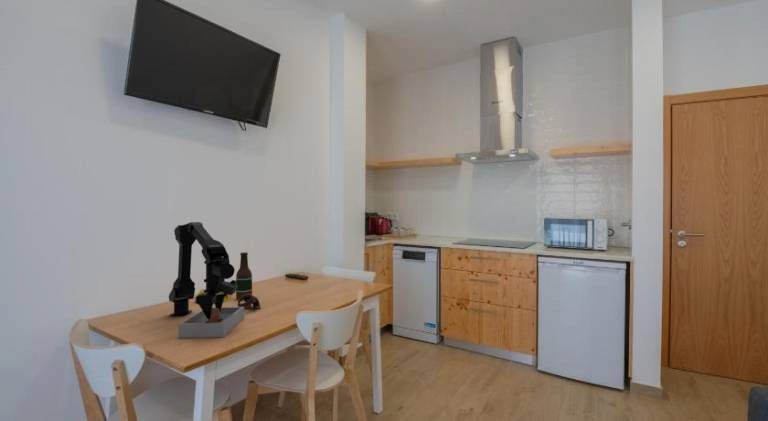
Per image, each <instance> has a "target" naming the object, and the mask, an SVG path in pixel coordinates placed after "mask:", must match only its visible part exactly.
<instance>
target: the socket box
mask: <svg viewBox="0 0 768 421" xmlns="http://www.w3.org/2000/svg"><path fill="white" fill-rule="evenodd" d="M214 308H216V307H215V306H212V309H214ZM244 319H245V309H244V307H238V306H222V308H221V311H220V312H219V323H208V319H207V317H206V316H205V314H204V312H203V310H202V309H201V310H199V311H197V312H196V313H193V314H192V315H191V316H189V317H188V318H185V320H183V321H181V322H179V323H178V329H177V330H178V332H177V333H178V334H177V335H178V337H177V338H178V339H192V338H193V339H195V338H196V339H197V338H199V339H200V338H202V339H203V338H204V339H205V338H224V337H226V335H228V334H229V333H230V332H231V331H232V330H233V329H234V328H235V327H236V326H238V325H239V324H240V323H241V322H242V321H244Z"/></svg>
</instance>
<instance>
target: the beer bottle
mask: <svg viewBox="0 0 768 421" xmlns="http://www.w3.org/2000/svg"><path fill="white" fill-rule="evenodd" d="M248 256H249V253H248V252H245V251H243V252H240V263H239V264H240V265H239V269H238V270H237V272H236V274H235V275H236V277H235V281H237V285H238V288H237V289H236V291H235V297H236V300H237V301H238V300H239V299H240V298H241V297H242V296H243V295H246V294H252V295H253V273H252V271H251V269H250V268H249V258H248ZM243 300H244V299H243ZM243 300H242V301H243ZM242 301H241V302H242ZM243 302H244V301H243Z"/></svg>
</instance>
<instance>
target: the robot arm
mask: <svg viewBox="0 0 768 421" xmlns="http://www.w3.org/2000/svg"><path fill="white" fill-rule="evenodd" d="M174 236H175V237H174V238H175V240H176V242H177V243H178V247H179V249H178V266H177V267H178V269H177V277H176V279H175V281H174V282H173V284H172V288H171V291H170V293H169V295H168V301H169V302H171V303H173V312H172V313H170V317H172V316H177V317H178V316H187V315H188V314H191V313H192V312H193V310H192V309H191V310H190V309H189V308H190V300H194V298H195V304H196V305H198V306H199V307H200V308H201V310H203V312H204V314H205V316H206V317H207V319H210V318H211V313H212V307H216V308H218V309H219V312H220V311H221V308H222V307H223V304H224V302H223V301H224V298H225V297H226V296H227V295H232V296H233V295H234V294H236V289H237V288H238V285H237V281H236V279H233V280H231V281H226V280H229V279H231V278H232V277H233V276H234V274H235V270H236V269H235V267H234V265H232V264H231V263H230V255H229V254H228V251H227V249H226V247H225V245H224V244H223V243H222V242H220V241H219V240H216V239H214V238H213V237H212V236H211V234H210V233H209V232H208V231H207V230H206V228H205V227H204V225H203V223H202V222H199V221H194V222H193V221H191V222H187V223H186V224H180V225H178V224H177V226H176V227H175V228H174ZM195 241H197V242H198V244H199V245H200V246H201V248H202V249H201V251H200V252H201V254H202V256H203V258H204V262H203V264H205V279H203V283H205V290H204V293H201V294H199V295H198V296H197V297H196V296H195V294H196V293H195V292H196V286H195V285H196V284H195V282H194V281H193V279H192V278H191V273H192V272H191V270H192V269H191V268H192V249H193V247H192V246H193V245H194V244H195ZM213 305H214V306H213Z"/></svg>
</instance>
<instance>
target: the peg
mask: <svg viewBox="0 0 768 421" xmlns="http://www.w3.org/2000/svg"><path fill="white" fill-rule="evenodd" d="M208 323H219V309H218V308H214V309H212V313H211V318H210V319H208Z"/></svg>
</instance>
